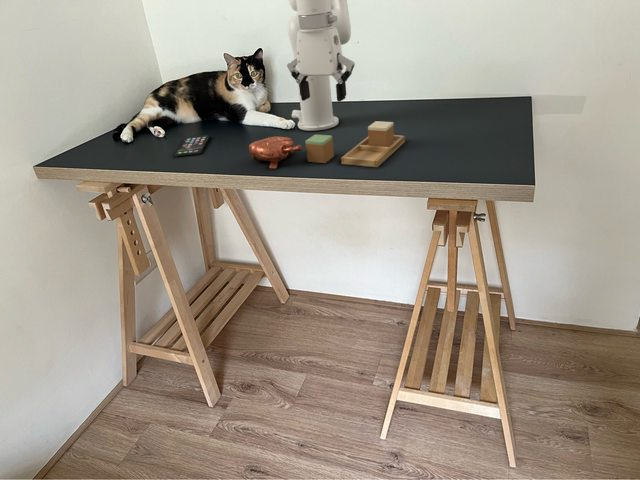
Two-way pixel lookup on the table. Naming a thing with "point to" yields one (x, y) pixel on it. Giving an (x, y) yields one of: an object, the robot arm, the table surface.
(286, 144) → the heart
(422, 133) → the table surface
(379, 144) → the pad cream
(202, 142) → the smartphone
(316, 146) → the pad sage
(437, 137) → the table surface
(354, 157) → the wooden divided tray
